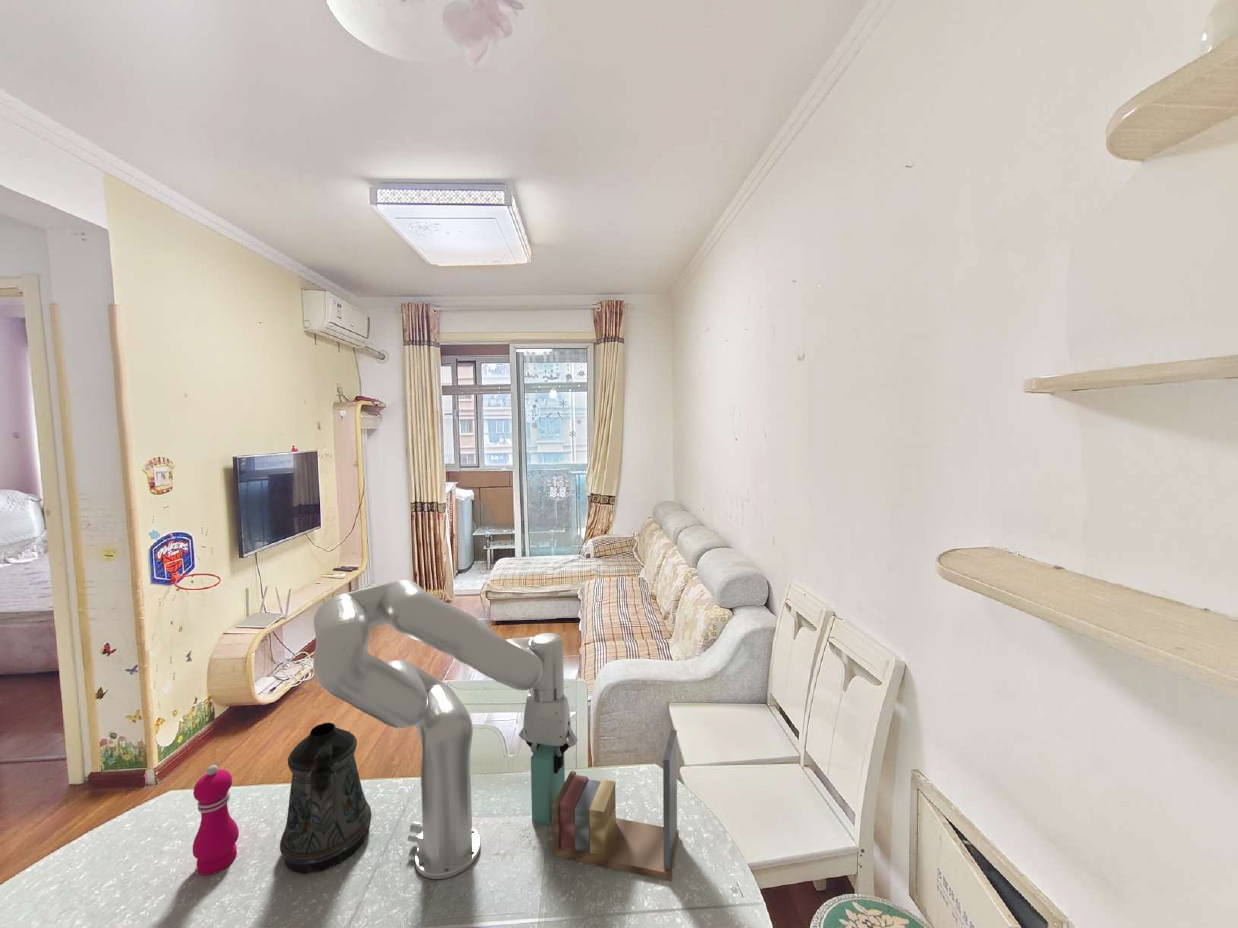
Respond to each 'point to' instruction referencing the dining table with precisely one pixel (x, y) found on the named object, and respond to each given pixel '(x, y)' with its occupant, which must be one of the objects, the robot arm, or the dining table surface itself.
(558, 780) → the loose book
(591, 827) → the book rack
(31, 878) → the dining table surface
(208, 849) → the pepper mill
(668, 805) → the bookend
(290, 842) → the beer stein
